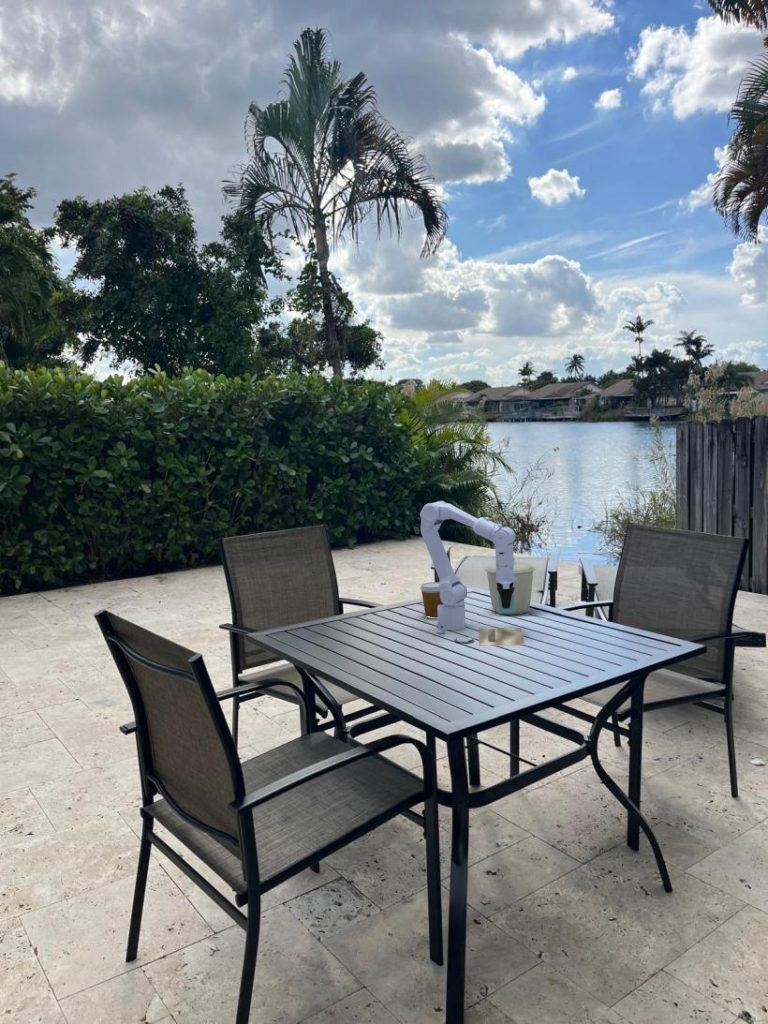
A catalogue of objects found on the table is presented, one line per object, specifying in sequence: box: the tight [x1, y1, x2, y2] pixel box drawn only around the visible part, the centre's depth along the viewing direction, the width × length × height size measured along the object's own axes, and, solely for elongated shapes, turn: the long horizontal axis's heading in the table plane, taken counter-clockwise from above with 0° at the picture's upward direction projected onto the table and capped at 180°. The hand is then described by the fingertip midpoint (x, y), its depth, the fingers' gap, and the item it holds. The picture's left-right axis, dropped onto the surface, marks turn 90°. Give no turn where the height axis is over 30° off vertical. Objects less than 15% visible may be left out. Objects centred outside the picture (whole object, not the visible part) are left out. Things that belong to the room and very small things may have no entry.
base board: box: [478, 627, 526, 646], centre depth 232 cm, size 14×20×5 cm
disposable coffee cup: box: [420, 581, 443, 617], centre depth 266 cm, size 10×10×12 cm
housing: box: [498, 592, 514, 614], centre depth 236 cm, size 5×5×6 cm
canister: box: [484, 556, 536, 616], centre depth 268 cm, size 18×18×21 cm
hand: (505, 606), depth 236 cm, fingers closed on housing, 5 cm apart
